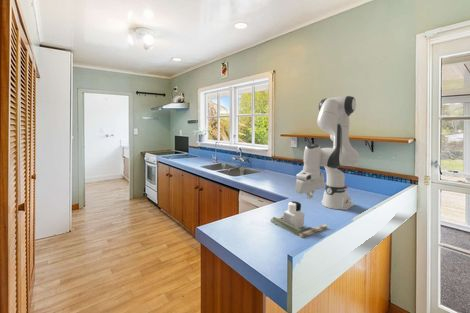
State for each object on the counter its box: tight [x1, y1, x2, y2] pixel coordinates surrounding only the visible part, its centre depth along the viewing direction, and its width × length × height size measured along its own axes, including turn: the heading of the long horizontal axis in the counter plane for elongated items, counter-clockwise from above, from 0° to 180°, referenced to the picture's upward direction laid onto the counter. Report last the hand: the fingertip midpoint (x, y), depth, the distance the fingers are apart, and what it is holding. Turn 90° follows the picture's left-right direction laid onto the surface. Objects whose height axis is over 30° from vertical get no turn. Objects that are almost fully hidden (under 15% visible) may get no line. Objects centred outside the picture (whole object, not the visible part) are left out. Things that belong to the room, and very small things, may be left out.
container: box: [283, 201, 305, 229], centre depth 130 cm, size 8×8×13 cm
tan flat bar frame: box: [270, 215, 328, 238], centre depth 132 cm, size 20×22×3 cm
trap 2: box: [301, 226, 314, 233], centre depth 125 cm, size 10×3×1 cm, turn 124°
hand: (309, 198), depth 135 cm, fingers closed
